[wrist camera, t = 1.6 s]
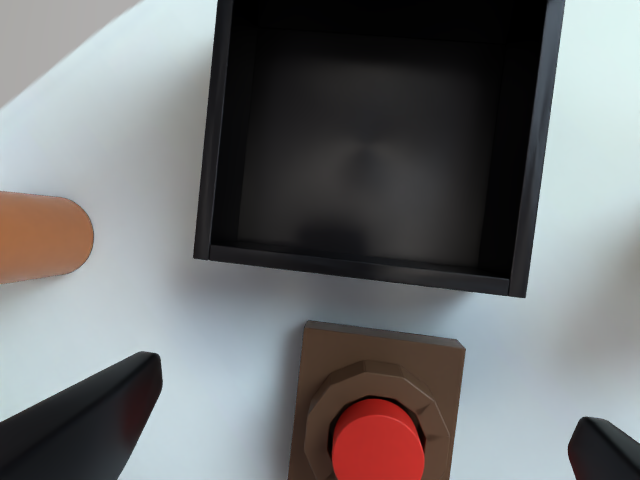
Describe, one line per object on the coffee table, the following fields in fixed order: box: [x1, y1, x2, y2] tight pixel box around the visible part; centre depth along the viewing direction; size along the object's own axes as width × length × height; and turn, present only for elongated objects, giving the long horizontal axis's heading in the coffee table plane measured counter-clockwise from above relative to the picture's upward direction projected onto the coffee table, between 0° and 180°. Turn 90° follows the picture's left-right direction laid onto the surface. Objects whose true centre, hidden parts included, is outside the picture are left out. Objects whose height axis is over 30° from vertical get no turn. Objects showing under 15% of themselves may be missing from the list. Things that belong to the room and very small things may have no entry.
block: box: [288, 320, 466, 480], centre depth 20 cm, size 10×9×4 cm
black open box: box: [193, 0, 565, 298], centre depth 19 cm, size 14×16×5 cm
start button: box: [332, 399, 425, 480], centre depth 18 cm, size 4×4×2 cm
